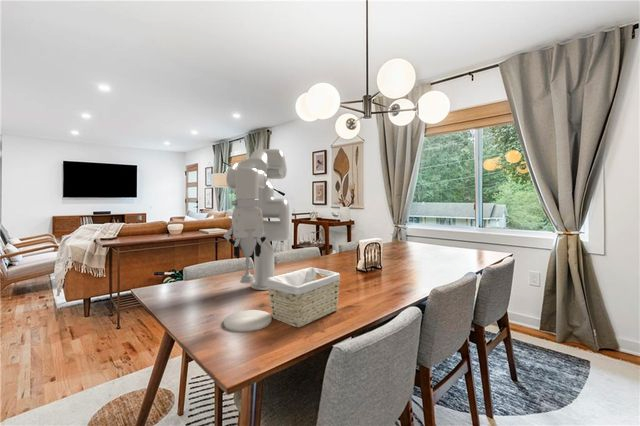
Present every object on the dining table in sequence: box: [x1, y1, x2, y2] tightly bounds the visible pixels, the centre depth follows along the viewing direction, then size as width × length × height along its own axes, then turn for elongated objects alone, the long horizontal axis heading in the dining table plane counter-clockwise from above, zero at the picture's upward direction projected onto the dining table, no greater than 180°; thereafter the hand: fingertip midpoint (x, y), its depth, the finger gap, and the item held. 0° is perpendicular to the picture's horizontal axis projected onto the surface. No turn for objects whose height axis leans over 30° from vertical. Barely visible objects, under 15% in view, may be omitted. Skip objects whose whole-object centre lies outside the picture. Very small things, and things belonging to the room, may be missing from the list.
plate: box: [223, 309, 272, 333], centre depth 107 cm, size 16×16×1 cm
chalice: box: [238, 230, 257, 284], centre depth 105 cm, size 7×7×18 cm
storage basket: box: [267, 266, 341, 328], centre depth 113 cm, size 24×16×15 cm
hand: (247, 256), depth 105 cm, fingers closed on chalice, 6 cm apart
